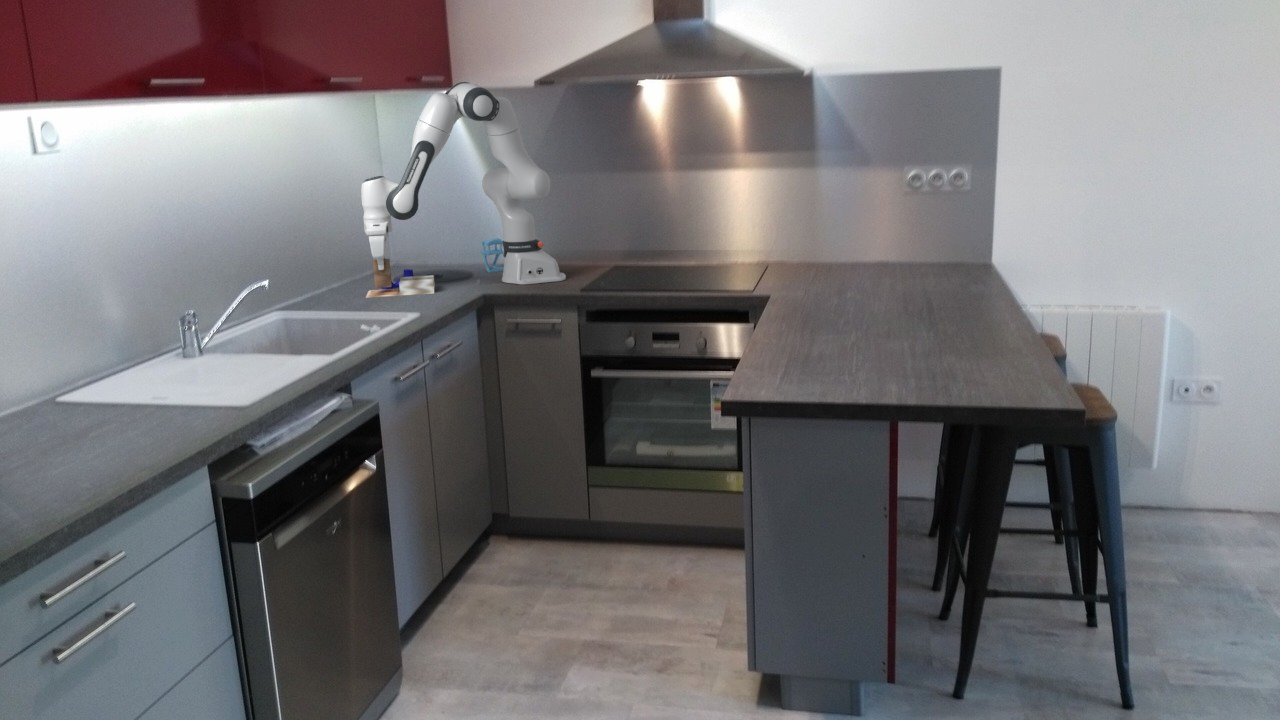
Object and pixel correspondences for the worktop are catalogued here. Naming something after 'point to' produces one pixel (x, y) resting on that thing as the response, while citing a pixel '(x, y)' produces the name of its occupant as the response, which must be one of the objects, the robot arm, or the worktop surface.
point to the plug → (382, 274)
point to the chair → (490, 252)
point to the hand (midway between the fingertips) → (382, 268)
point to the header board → (408, 287)
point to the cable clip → (406, 274)
